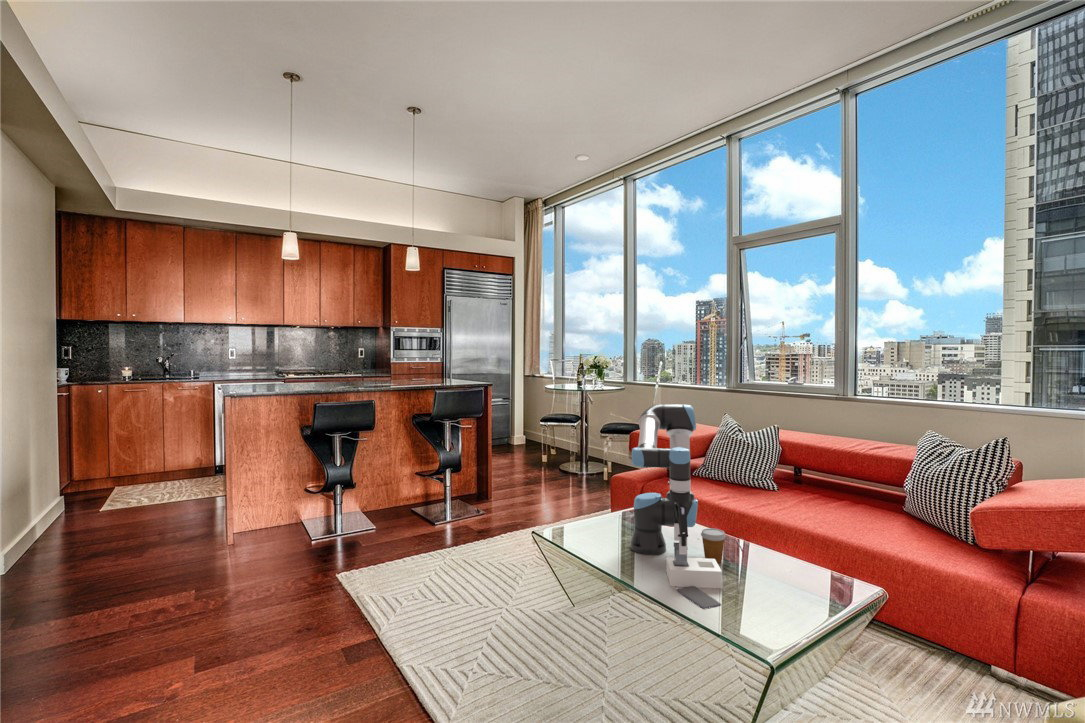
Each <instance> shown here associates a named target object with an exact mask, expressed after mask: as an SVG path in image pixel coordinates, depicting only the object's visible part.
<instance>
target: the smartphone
mask: <svg viewBox="0 0 1085 723" xmlns="http://www.w3.org/2000/svg"><path fill="white" fill-rule="evenodd" d="M676 591H678V592H677V593H679V594H681V595H682V597H685V598H686V599H688V600H689V601H690V600H691V602H692V601H693V602H694V603H693V602H692V603H693V604H695V605H696V604H697V606H698V605H699V606H700V608H701V607H702V608H708V609H710V608H709V607H712V608H716V607H721V606H722V603H721V602H719V601H717V600H716V599H715V598H713V597H711V596H710V595H708V594H706V592H704V591H702V589H701V590H700V589H699V587H695V586H689V587H680V588H679V587H678V588H677V589H676ZM699 606H698V607H699ZM702 608H701V609H702Z"/></svg>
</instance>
